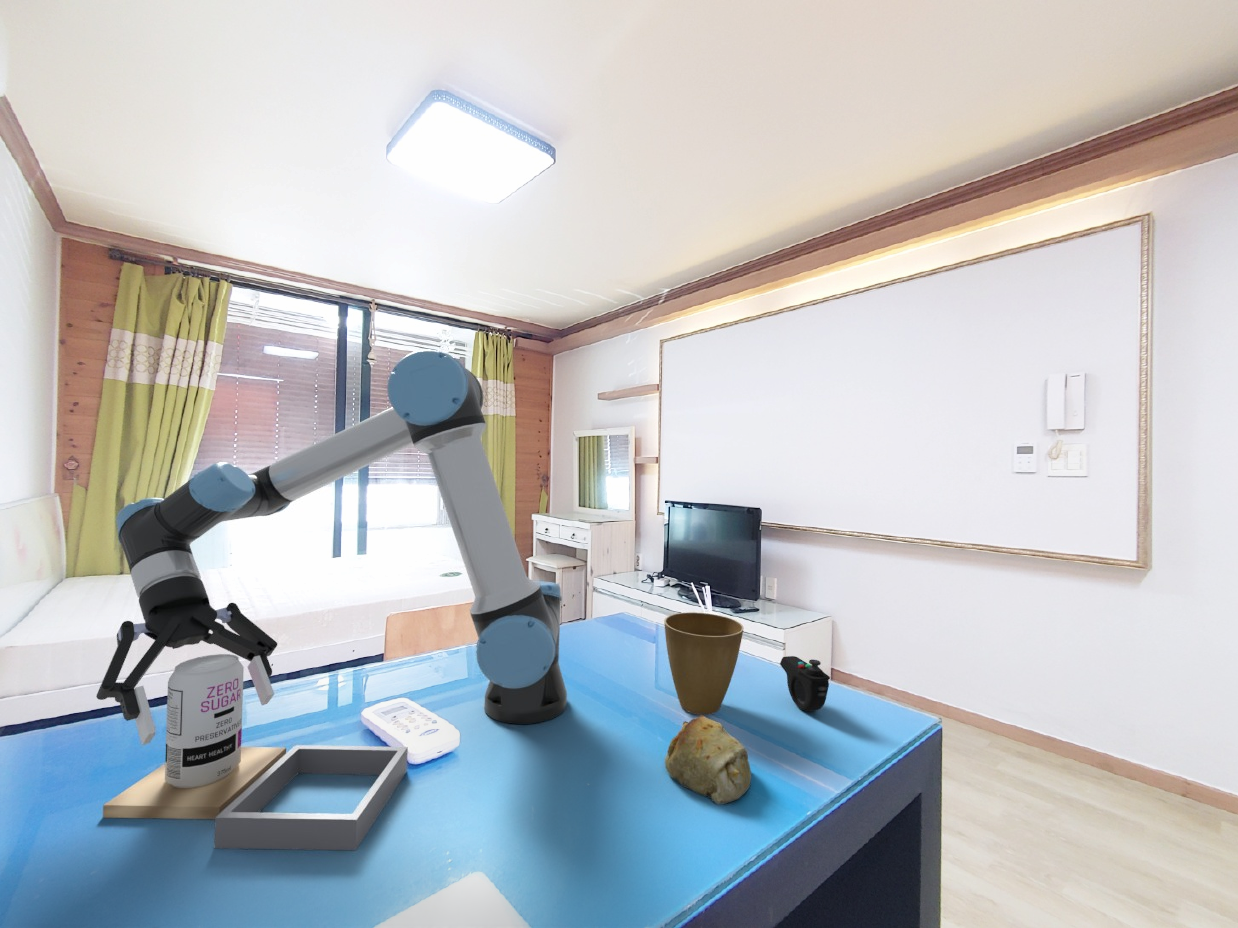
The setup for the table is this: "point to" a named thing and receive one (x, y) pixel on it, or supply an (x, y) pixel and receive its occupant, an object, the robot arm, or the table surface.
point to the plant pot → (702, 658)
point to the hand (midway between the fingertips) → (213, 717)
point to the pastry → (709, 761)
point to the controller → (806, 682)
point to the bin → (311, 830)
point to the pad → (191, 791)
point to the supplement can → (204, 720)
